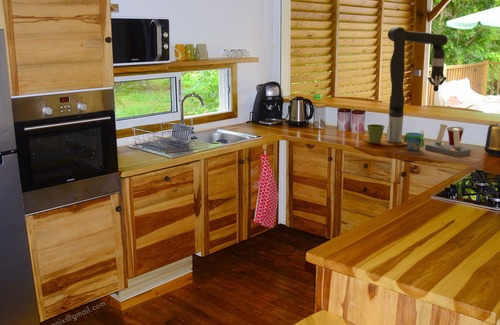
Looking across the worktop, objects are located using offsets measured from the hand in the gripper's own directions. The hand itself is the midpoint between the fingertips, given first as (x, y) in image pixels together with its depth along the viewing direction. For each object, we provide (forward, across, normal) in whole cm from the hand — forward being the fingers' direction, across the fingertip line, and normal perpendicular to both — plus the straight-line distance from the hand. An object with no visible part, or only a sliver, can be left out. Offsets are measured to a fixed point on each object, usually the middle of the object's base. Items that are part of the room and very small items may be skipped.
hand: (435, 91), depth 372 cm
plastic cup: (+33, +6, -22) cm, 40 cm away
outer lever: (+29, -2, -43) cm, 52 cm away
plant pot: (+33, -42, -7) cm, 54 cm away
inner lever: (+29, -8, -31) cm, 43 cm away
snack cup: (+33, -24, -30) cm, 51 cm away
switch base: (+33, -5, -37) cm, 50 cm away
